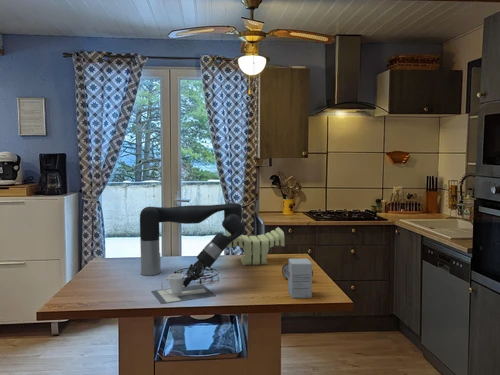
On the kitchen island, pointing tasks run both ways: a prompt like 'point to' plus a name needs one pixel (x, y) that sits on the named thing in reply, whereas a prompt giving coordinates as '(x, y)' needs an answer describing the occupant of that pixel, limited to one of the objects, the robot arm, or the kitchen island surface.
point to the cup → (175, 284)
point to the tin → (285, 270)
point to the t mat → (183, 294)
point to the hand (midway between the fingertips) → (183, 285)
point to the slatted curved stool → (257, 246)
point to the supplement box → (300, 278)
